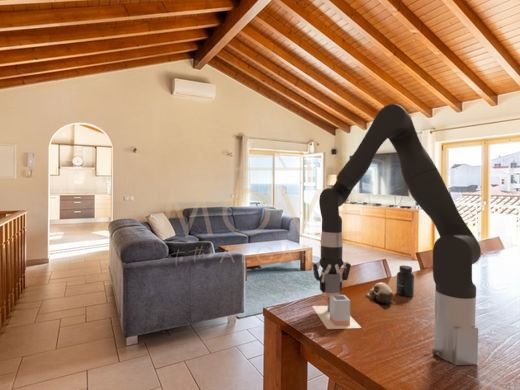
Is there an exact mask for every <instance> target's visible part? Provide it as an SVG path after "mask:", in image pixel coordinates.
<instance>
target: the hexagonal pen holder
mask: <svg viewBox="0 0 520 390" xmlns="http://www.w3.org/2000/svg"><path fill="white" fill-rule="evenodd" d="M350 316H351V299H349V298H348V297H347V296H346V295H345V294H340V295H330V320H331V321H332V323H333V324H334V325H335V326H340V325H350Z"/></svg>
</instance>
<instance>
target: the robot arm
mask: <svg viewBox="0 0 520 390" xmlns="http://www.w3.org/2000/svg"><path fill="white" fill-rule="evenodd" d="M387 139H388V141H389V142H390V144H392V147H393V149H394V150H395V152H396V154H397V157H398V159H399V164H400V170H401V174H402V178H403V181H404V183H405V185H406V187H407V189H408V191H409V193H410V195H411V197H412V199H413V201H415V202H416V204H417V205H418V206H419V207H420V208H421V209H422V210H423V212H425V214H426V215H427V216H428V217H429V219H430V220H431V221H432V224H433V225H434V226H435V229H436V231H437V233H438V235H439V237H438V238H437V239H436V241H435V243H434V244H433V247H432V276H433V277H432V279H433V282H434V284H435V291H434V293H435V296H434V329H433V331H434V332H433V341H434V342H433V349H434V351H436V352H437V353H436V352H435V355H436V356H438V357H439V358H441V359H442V360H444V361H447V362H450V363H452V364H453V365H455V366H466V365H467V366H468V365H478V353H479V351H478V350H479V348H478V347H479V345H478V342H479V328H478V327H477V326H476V307H477V306H476V305H477V303H476V302H477V287H476V285H475V283H474V282H473V265H474V264H476V263H477V262H478V261H479V260H480V258H481V254H482V251H481V245H480V244H479V242H478V240H477V238H476V237H475V235H474V233H473V232H472V231H471V229H470V227H469V226H468V225H467V223H466V221H464V219H463V217H462V215H461V214H460V212H459V210H458V209H457V206H456V204H455V202H454V200H453V197H452V195H451V193H450V192H449V189H448V188H447V185H446V183H445V182H444V179H443V177H442V175H441V173H440V172H439V169H438V168H437V166H436V164H435V163H434V161H433V160H432V158H431V157H430V154H429V153H428V152H427V150H426V149H425V148H424V146H423V145H422V143H421V140H420V138H419V136H418V133H417V130H416V128H415V125H414V122H413V119H412V117H411V115H410V113H409V112H408V111H406V110H405V108H403V107H402V106H401V105H400V104H397V103H389V104H387V105H385V106H383V107H382V108H380V110H379V111H378V112H377V114H376V115H375V117H374V119H373V121H372V123H371V125H370V126H369V128H368V130H367V132H366V133H365V135H364V137H363V139H362V140H361V142H360V143H359V145H358V147H357V148H356V150H355V151H354V153H353V154H352V155H351V157H350V158H349V160H348V161H347V162H346V163H345V165H344V166H343V167H342V168H341V170H340V171H339V172H338V174H337V176H336V181H335V183H334V184H333V185H332V187H327V188H325V189H323V190H322V191H321V193H320V194H319V198H318V200H319V201H318V203H319V204H318V205H319V210H320V216H321V234H320V235H321V236H320V260H318V262H312V263H311V267H312V272H313V275H314V279H315V280H316V281H318V282H319V290H320V291H321V293H322V292H323V293H325V276H326V274H328V273H337V274H340V292H341V291H342V288H343V281H347V280H349V279H348V278H349V274H350V270H351V267H352V265H351V263H350V262H348V261H345V262H344V260H343V240H344V239H343V218H342V216H341V215H340V210H339V209H340V207H341V206H343V204H344V203H346V201H347V200H348V198H349V196H350V195H351V193H352V191H353V189H354V188H355V186H356V185H358V183H359V182H360V181H361V180H362V178H363V177H364V176H365V174H366V173H367V172H368V170H369V168H370V167H371V164H372V162H373V160H374V158H375V156H376V154H377V152H378V150H380V148H381V146H382V145H383V144H384V143H385V141H387ZM320 267H321V269H322V270H321V272H320V274H319V268H320ZM342 267H343V269H342ZM340 269H342V273H341V270H340Z"/></svg>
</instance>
